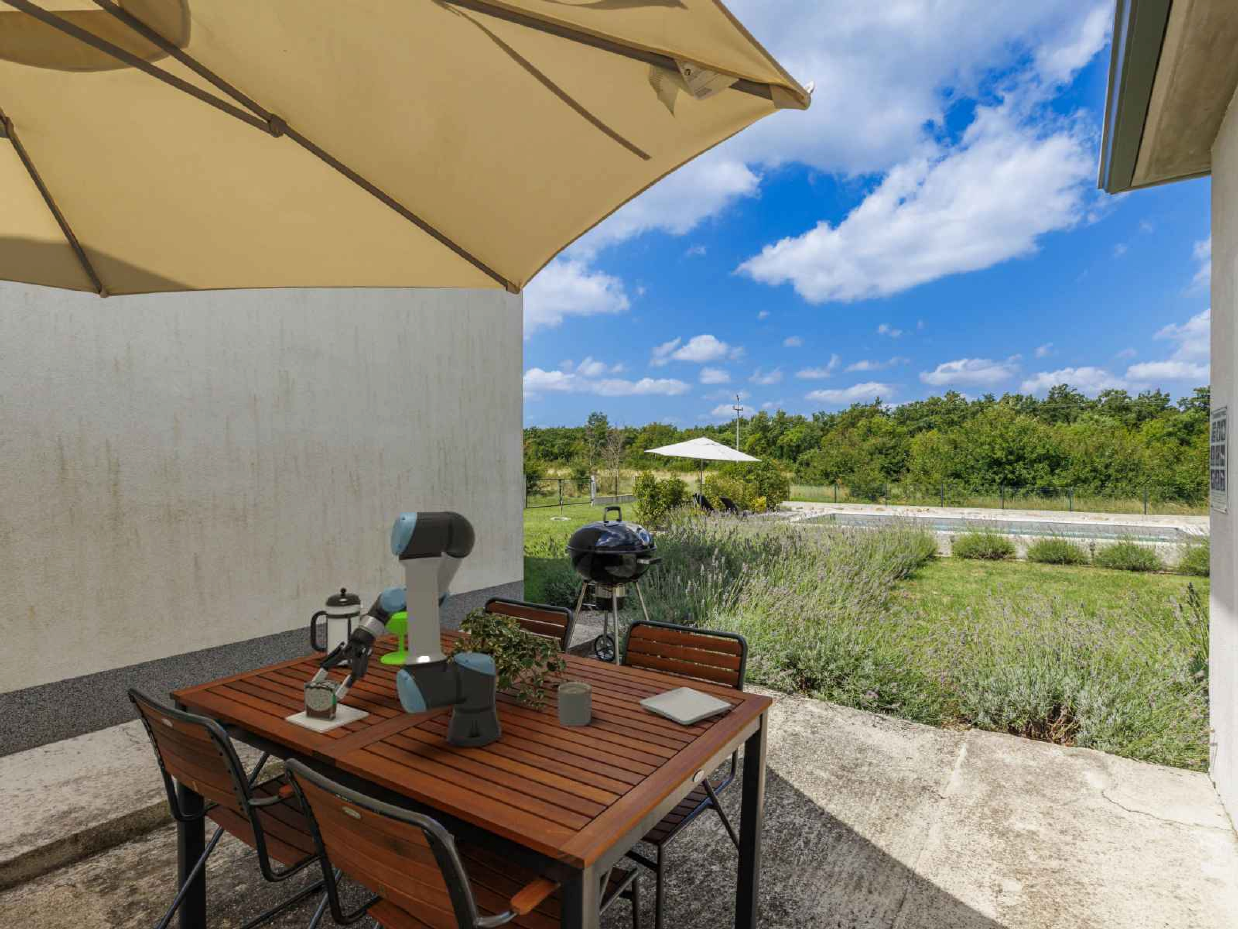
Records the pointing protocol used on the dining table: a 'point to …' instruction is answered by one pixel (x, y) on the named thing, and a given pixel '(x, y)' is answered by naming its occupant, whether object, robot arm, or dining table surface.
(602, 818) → the dining table surface
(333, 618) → the coffee press
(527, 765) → the dining table surface
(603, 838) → the dining table surface
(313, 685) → the food container
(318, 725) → the ceramic tile
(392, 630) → the wineglass
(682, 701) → the salad plate
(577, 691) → the grey canister
